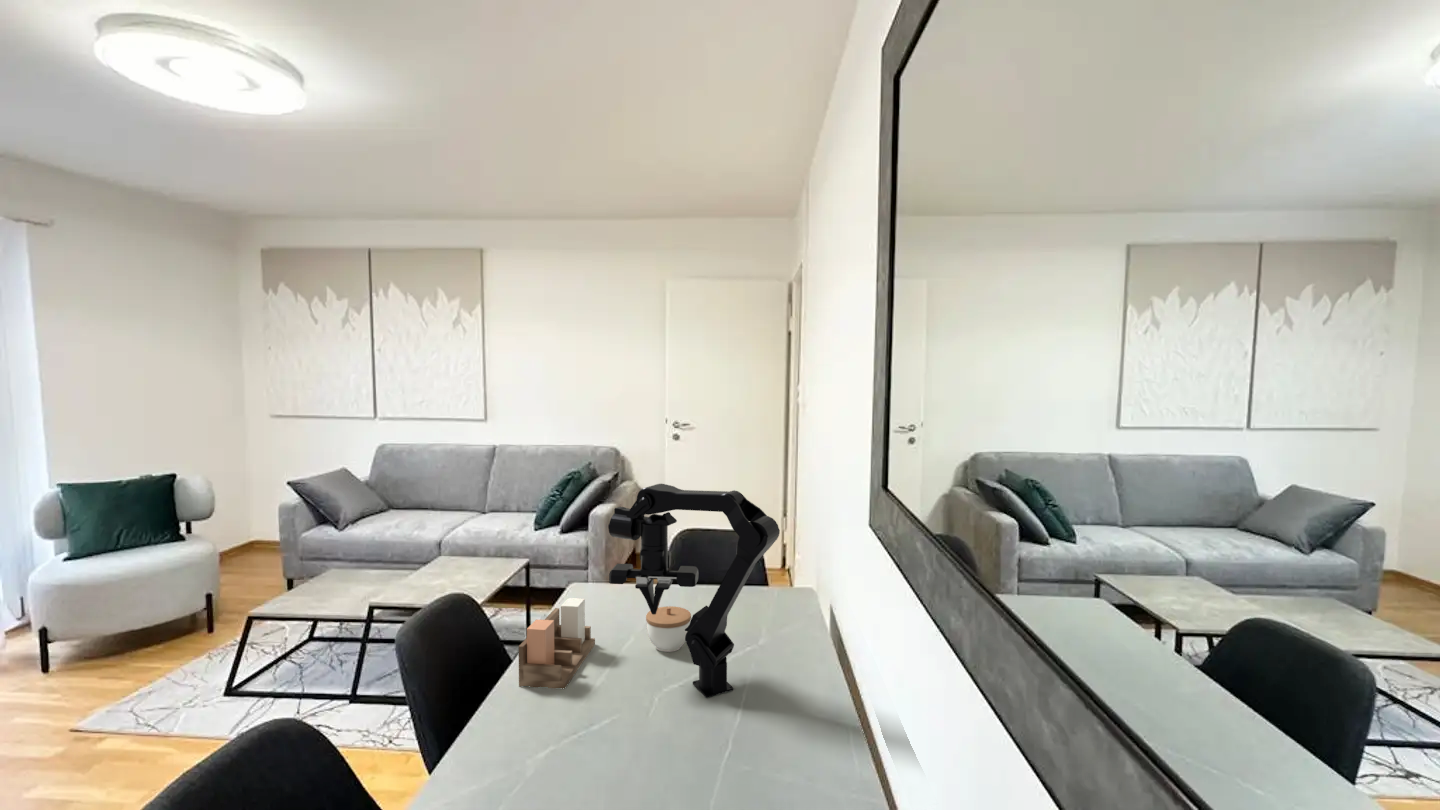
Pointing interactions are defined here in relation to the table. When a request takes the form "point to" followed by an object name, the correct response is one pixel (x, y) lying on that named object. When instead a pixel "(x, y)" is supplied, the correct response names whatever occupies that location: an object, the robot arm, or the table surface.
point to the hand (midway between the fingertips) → (654, 613)
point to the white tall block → (573, 618)
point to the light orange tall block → (540, 642)
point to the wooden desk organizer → (555, 659)
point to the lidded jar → (668, 627)
